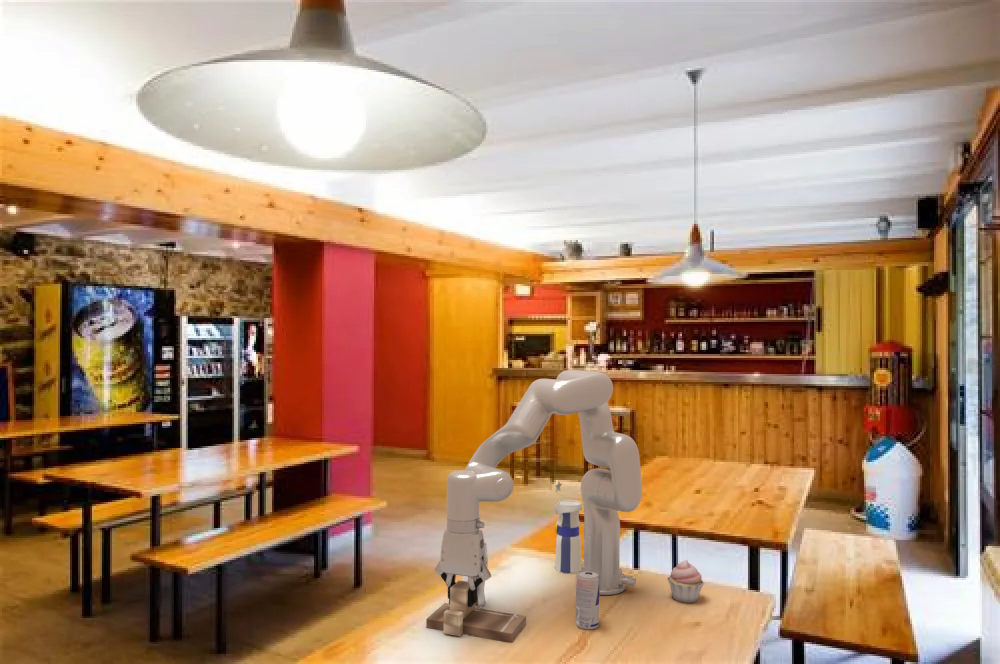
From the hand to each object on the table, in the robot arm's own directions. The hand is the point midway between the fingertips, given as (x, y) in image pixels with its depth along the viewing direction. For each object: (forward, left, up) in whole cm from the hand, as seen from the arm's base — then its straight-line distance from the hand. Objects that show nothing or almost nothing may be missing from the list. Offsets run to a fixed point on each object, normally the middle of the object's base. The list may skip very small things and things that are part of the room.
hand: (462, 602), depth 157 cm
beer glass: (+2, -13, -5) cm, 14 cm away
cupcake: (-47, -36, -6) cm, 60 cm away
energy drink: (-27, -11, -5) cm, 30 cm away
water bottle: (-13, -46, -5) cm, 48 cm away
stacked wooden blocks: (0, 0, -5) cm, 5 cm away
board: (-3, -1, -5) cm, 6 cm away
